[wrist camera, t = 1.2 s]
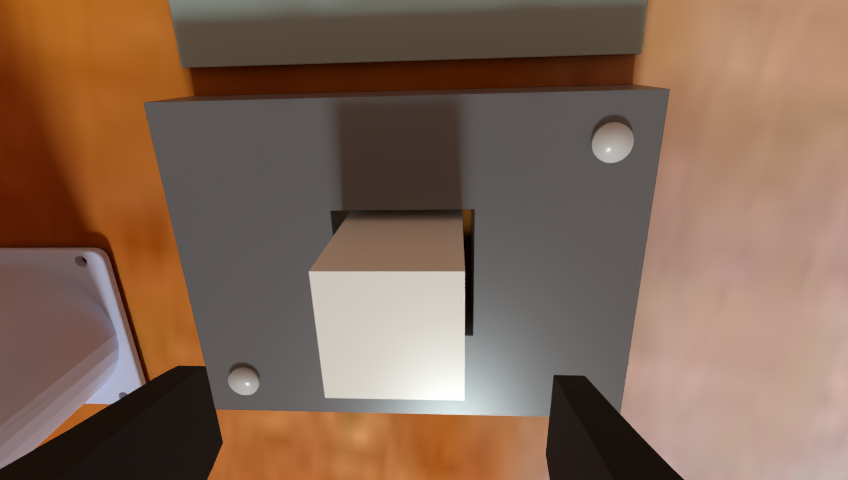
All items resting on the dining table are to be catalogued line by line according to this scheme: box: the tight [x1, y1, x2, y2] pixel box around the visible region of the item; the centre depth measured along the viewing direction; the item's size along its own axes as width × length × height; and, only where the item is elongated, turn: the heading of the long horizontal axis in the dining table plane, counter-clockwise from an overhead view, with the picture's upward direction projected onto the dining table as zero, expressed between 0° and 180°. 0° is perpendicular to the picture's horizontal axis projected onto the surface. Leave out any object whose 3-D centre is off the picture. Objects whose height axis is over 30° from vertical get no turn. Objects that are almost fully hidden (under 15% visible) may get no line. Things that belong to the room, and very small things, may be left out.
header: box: [144, 84, 670, 417], centre depth 17 cm, size 16×12×3 cm
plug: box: [309, 209, 465, 401], centre depth 16 cm, size 4×4×7 cm
